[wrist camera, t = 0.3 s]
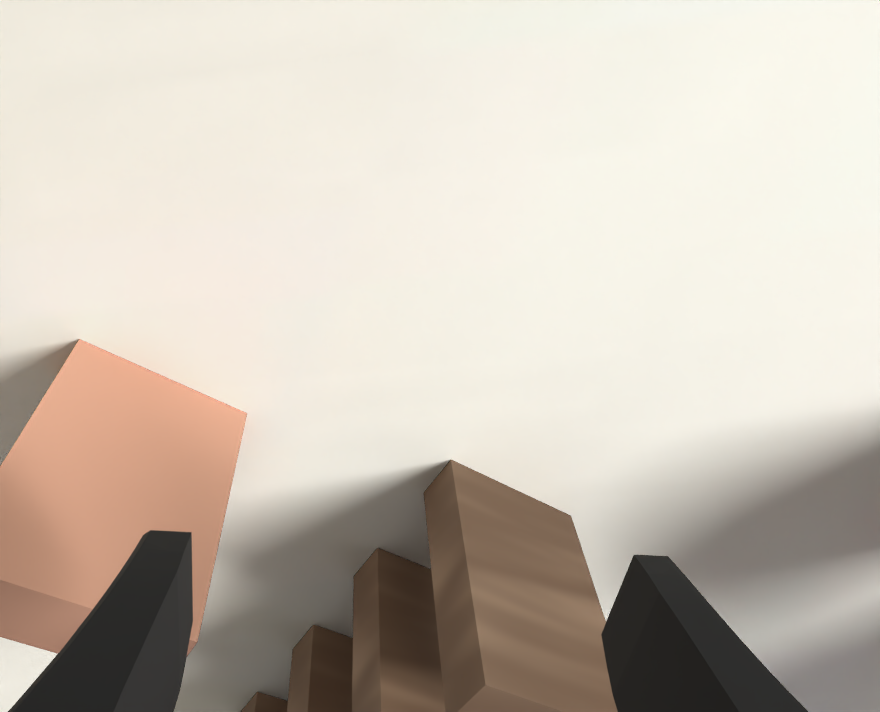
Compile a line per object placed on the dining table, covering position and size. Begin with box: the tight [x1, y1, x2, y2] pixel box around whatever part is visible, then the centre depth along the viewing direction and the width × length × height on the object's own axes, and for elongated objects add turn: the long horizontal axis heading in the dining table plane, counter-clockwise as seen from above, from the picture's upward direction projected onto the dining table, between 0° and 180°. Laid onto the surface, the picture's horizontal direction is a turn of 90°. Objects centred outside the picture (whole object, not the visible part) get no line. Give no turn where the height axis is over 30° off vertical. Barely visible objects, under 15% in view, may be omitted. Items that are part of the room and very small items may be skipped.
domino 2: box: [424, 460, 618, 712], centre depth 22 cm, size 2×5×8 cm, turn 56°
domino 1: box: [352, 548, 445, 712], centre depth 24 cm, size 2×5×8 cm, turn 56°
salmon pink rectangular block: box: [0, 339, 247, 657], centre depth 18 cm, size 2×5×8 cm, turn 56°
